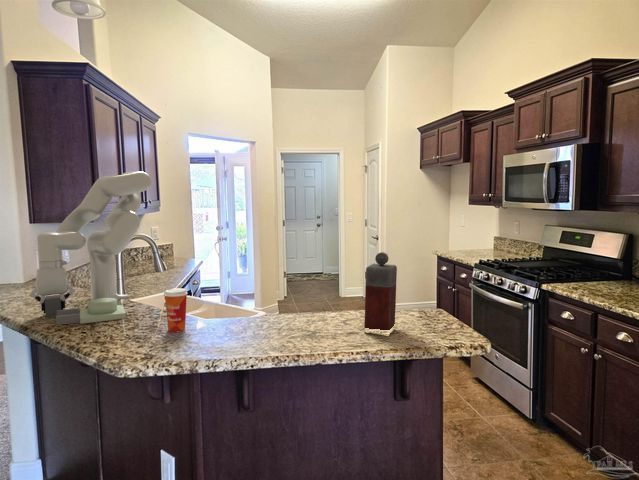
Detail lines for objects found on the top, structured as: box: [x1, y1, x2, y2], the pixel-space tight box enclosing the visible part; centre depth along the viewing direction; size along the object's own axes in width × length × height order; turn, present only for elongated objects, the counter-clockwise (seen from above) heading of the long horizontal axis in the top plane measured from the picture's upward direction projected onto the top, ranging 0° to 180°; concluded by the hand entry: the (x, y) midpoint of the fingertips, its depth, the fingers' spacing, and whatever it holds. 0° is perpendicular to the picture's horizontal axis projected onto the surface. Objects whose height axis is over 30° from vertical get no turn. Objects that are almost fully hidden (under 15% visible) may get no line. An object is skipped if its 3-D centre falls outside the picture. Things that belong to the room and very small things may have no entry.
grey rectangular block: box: [44, 294, 61, 319], centre depth 159 cm, size 5×6×7 cm
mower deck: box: [55, 298, 127, 326], centre depth 157 cm, size 22×14×6 cm, turn 120°
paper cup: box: [163, 287, 189, 333], centre depth 143 cm, size 8×8×14 cm
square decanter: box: [364, 251, 398, 330], centre depth 146 cm, size 9×11×28 cm
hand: (53, 310), depth 159 cm, fingers closed on grey rectangular block, 5 cm apart
